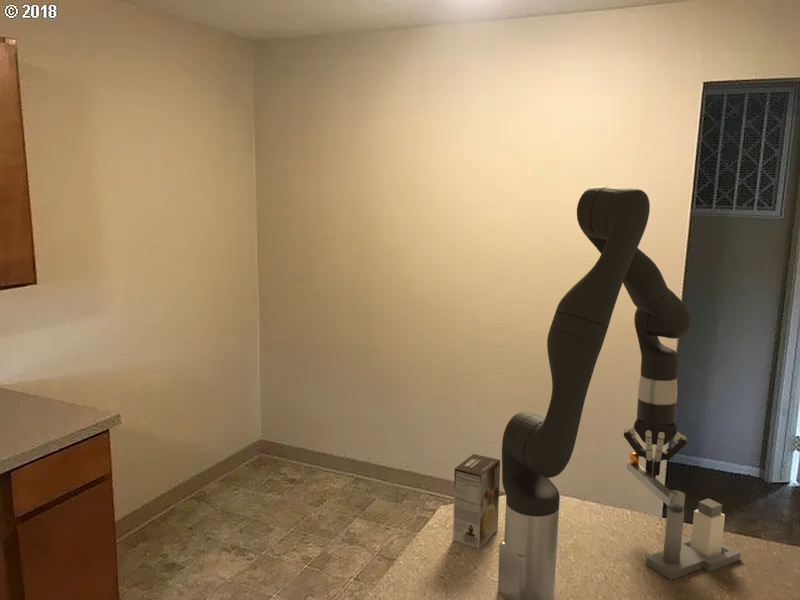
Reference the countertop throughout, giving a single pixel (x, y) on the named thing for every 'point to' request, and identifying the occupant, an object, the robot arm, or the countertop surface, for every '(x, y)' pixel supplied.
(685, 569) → the dock
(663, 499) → the long flat grey beam
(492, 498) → the coffee box
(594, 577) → the countertop surface
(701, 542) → the plug
